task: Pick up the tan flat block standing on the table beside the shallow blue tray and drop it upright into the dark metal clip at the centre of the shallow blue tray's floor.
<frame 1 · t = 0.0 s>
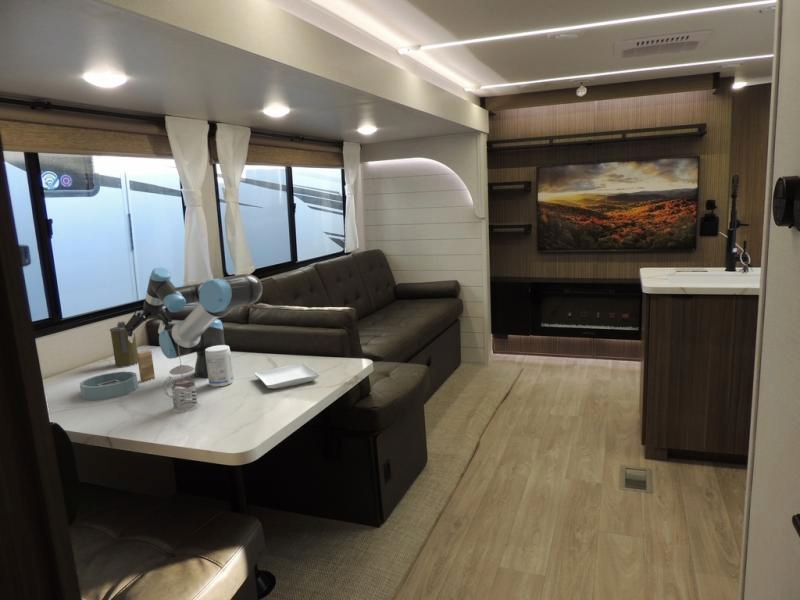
hand: (145, 337, 255), 15 cm above the table, tool tilted 35°, fingers open, 13 cm apart
salad plate: (287, 381, 230), on the table
canister: (127, 364, 272), on the table
supplement tub: (221, 384, 232), on the table
french press: (184, 408, 205), on the table
shallow blue tray: (110, 391, 231), on the table
tan flat block: (148, 379, 243), on the table
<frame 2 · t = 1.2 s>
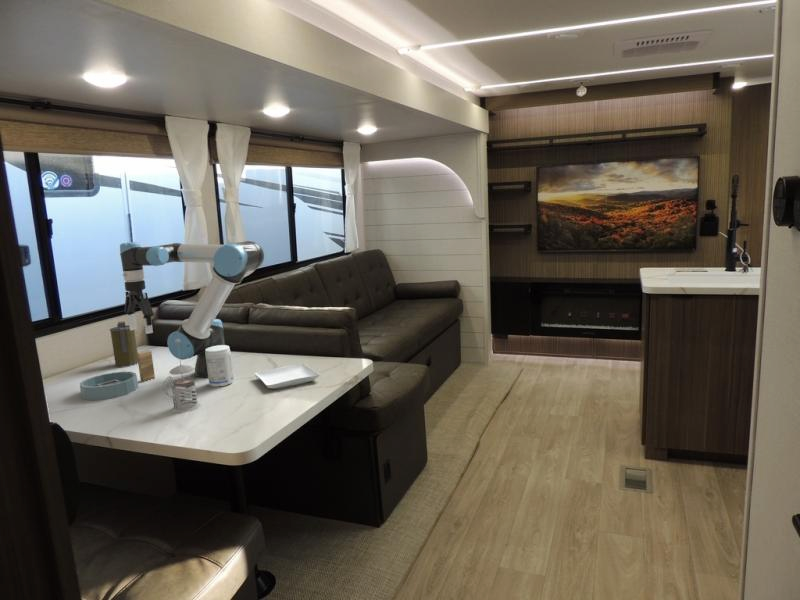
hand: (141, 331, 240), 21 cm above the table, tool pointing down, fingers open, 13 cm apart
nothing on the table moved.
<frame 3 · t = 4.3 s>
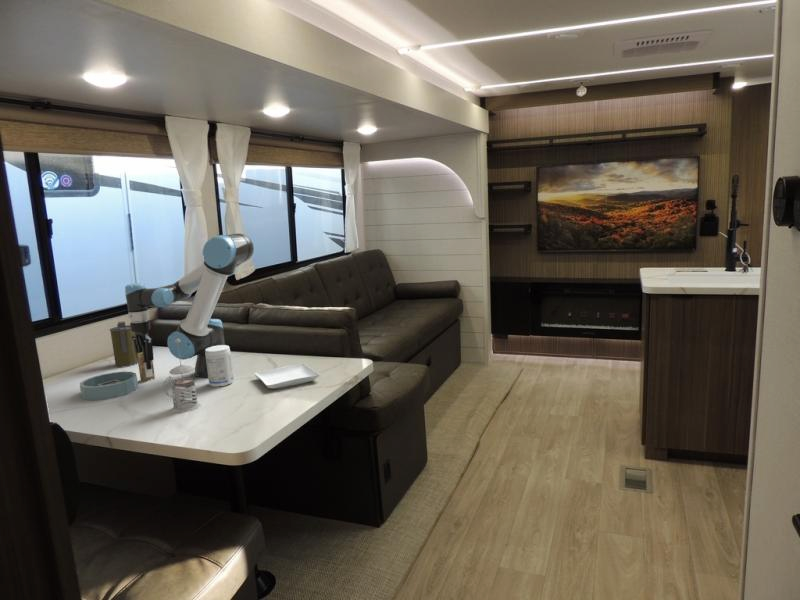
hand: (147, 375, 243), 2 cm above the table, tool pointing down, fingers closed on tan flat block, 2 cm apart
tan flat block: (147, 379, 243), on the table, touching gripper
everything else where it was.
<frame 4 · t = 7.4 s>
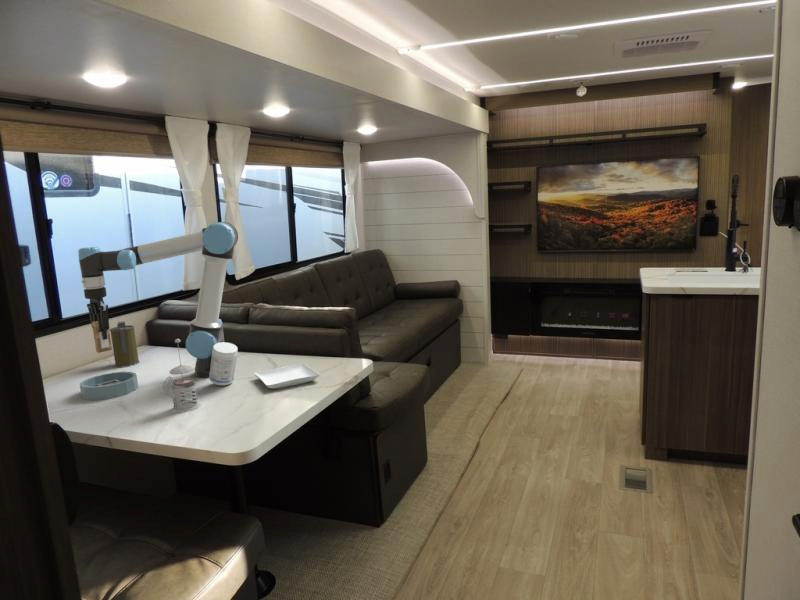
hand: (103, 346, 228), 18 cm above the table, tool pointing down, fingers closed on tan flat block, 2 cm apart
supplement tub: (221, 380, 231), point 1 cm above the table, touching arm
tan flat block: (104, 350, 228), point 17 cm above the table, touching gripper
everything else where it was.
when the fingers open (5 cm above the table, at t = 10.9 s): tan flat block drops 2 cm, resting on shallow blue tray.
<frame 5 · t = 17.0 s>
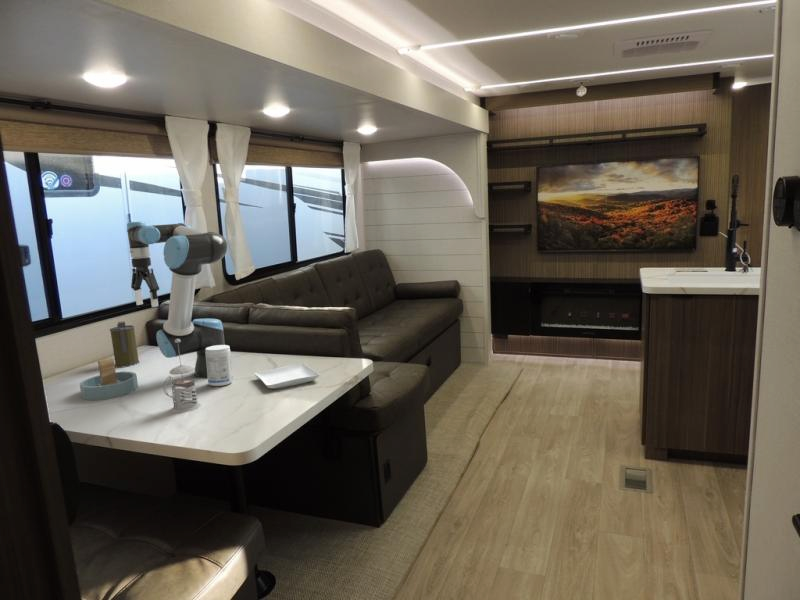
hand: (147, 305, 256), 29 cm above the table, tool pointing down, fingers open, 13 cm apart
supplement tub: (220, 383, 231), on the table
tan flat block: (110, 388, 230), point 1 cm above the table, touching shallow blue tray
everything else where it was.
at the end: tan flat block 0.0 cm off-centre on the shallow blue tray, point 1.0 cm above the shallow blue tray's base; tan flat block tilted 0°; the gripper is holding nothing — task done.
